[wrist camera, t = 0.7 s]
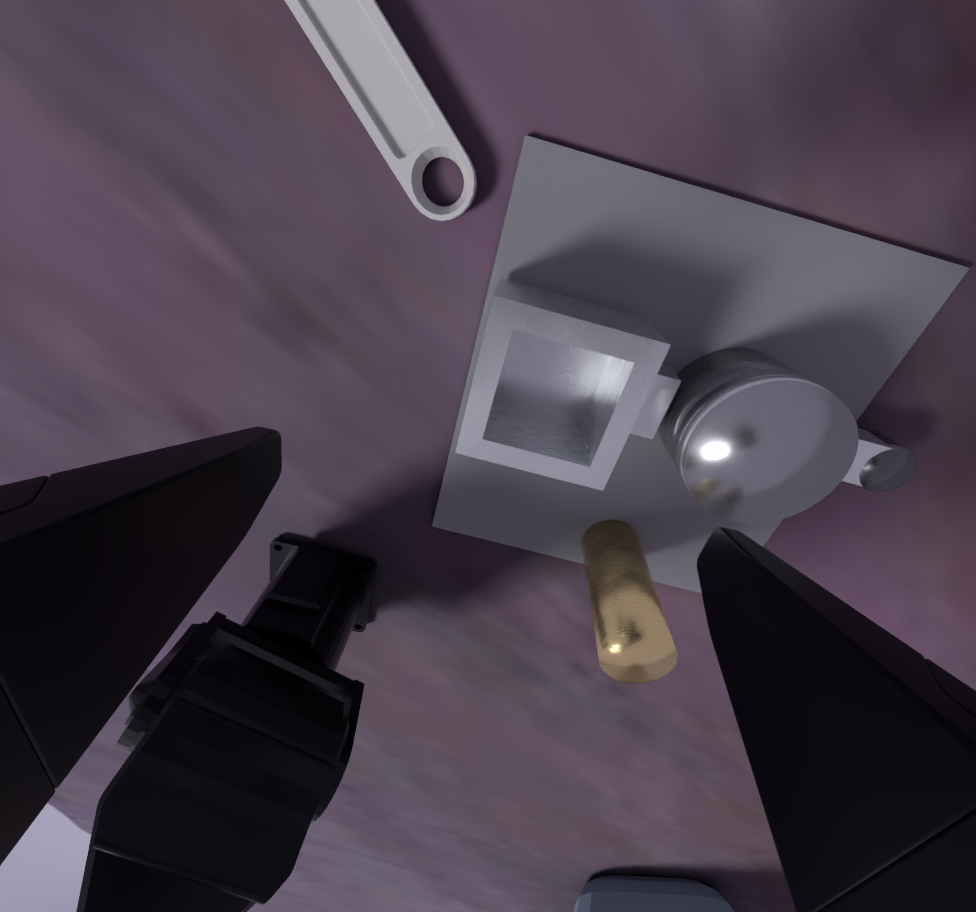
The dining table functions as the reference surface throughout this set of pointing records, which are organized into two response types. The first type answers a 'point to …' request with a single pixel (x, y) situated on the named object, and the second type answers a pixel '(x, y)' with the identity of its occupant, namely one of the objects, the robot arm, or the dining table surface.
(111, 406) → the dining table surface
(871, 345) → the mat
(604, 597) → the brass rounded cylinder
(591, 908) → the alarm clock
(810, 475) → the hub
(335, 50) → the adjustable wrench
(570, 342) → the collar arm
